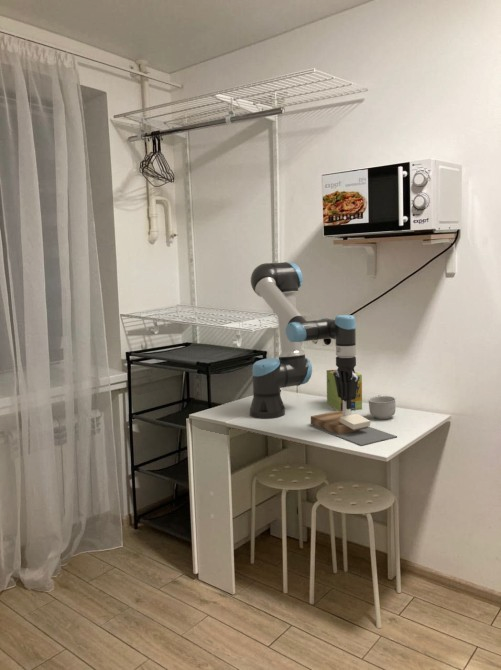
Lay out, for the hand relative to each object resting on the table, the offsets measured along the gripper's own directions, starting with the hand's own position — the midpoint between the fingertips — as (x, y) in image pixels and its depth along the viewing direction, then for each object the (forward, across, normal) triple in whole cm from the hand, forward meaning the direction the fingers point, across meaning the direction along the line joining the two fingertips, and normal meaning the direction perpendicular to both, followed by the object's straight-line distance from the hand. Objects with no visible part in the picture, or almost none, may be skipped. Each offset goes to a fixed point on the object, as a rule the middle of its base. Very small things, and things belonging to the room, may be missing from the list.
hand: (346, 416), depth 222 cm
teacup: (+5, -6, +24) cm, 25 cm away
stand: (+5, -5, 0) cm, 7 cm away
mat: (+5, +3, 0) cm, 6 cm away
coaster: (+2, +4, 0) cm, 5 cm away
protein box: (+5, -28, +22) cm, 36 cm away
